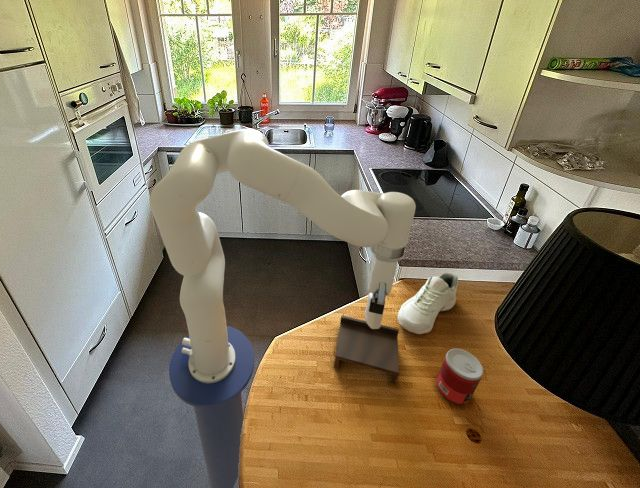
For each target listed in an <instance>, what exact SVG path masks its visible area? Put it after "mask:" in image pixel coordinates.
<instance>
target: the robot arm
mask: <svg viewBox="0 0 640 488" xmlns="http://www.w3.org/2000/svg"><path fill="white" fill-rule="evenodd" d="M228 172H229V174H230V176H231V177H232V178H233V179H234V180H235V181H236V182H238V183H240V184H242V185H243V186H247V187H248V188H251V189H253V190H255V191H258V192H260V193H262V194H265V195H267V196H270V197H272V198H275V199H277V200H279V201H281V202H284V203H286V204H287V205H290V206H292V207H293V208H295V209H296V210H298V212H299V213H301V214H302V215H303V216H304V217H306V218H307V219H309V220H310V221H311V222H312V223H314V224H315V225H316V226H318V227H319V228H320V229H322V231H324V232H326V233H328V234H329V235H330V236H332V237H333V238H336V239H338V240H341V241H343V242H346V243H348V244H351V245H354V246H356V247H360V248H369V250H370V253H371V256H370V257H371V258H370V261H369V266H368V276H367V277H368V278H367V291H368V293H373V298H371V301H370V306H369V312H372V313H376V314H383V315H384V312H383V310H384V311H385V306H386V298H387V297H389V296H390V295H391V291H392V288H393V284H394V281H395V276H396V272H397V267H398V262H399V261H400V260H402V259H403V258H404V256H405V254H406V249H407V245H408V241H409V237H410V233H411V230H412V226H413V221H414V218H415V213H416V209H417V206H416V205H417V204H416V202H415V200H414V199H413V198H412V197H411V196H409V194H406V193H403V192H398V191H388V192H384V193H383V192H375V191H369V190H363V189H351V190H347V191H346V192H343V194H342V195H340V194H339V193H338V192H336V191H335V189H333V188H332V187H331V185H330V184H329V183H328V182H327V181H326V179H324V178H323V176H322V175H321V174H320V173H319V172H317V170H316V169H314V168H313V167H311V166H309V165H307V164H305V163H303V162H302V161H299V160H296V159H294V158H292V157H290V156H289V155H286V154H284V153H282V152H280V151H278V150H276V149H273V148H272V147H270V143H269V140H268V138H267V136H266V135H265V134H264V133H262V132H261V131H259V130H257V129H253V128H242V129H237V130H233V131H230V132H226V133H222V134H219V135H218V134H217V135H214V136H211V137H206V138H203V139H202V138H201V139H198V140H196V141H193V142H190V143H189V144H187V145H186V146H184V147H183V148H182V149H181V150H180V152H179V154H178V155H177V157H176V159H175V161H174V163H173V165H172V166H171V167H170V170H169V171H168V172H167V173H166V174H165V176H163V177H162V179H160V180H159V181H158V182H157V183H156V185H154V187H153V188H152V191H151V192H150V195H149V207H150V211H151V213H152V216H153V219H154V221H155V223H156V225H157V228H158V231H159V234H160V237H161V239H162V243H163V245H164V248H165V250H166V253H167V255H168V259H169V261H170V264H171V266H172V267H173V268H174V270H175V271H176V272H177V273H178V274H180V275H181V276H183V279H182V282H181V286H180V292H179V305H180V306H181V309H182V312H183V314H184V317H185V321H186V326H187V331H188V336H189V337H190V339H188V338H186V337H183V339H182V341H181V342H182V345H184V346H189V347H191V348H192V349H191V350H189V349H187V348H183V349H182V351H181V352H182V353H184V354H188V355H189V356H190V357H189V370H190V373H191V375H192V376H193V377H194V378H195V379H196V380H198V381H199V382H202V383H215V382H218V381H220V380H222V379H224V378H225V377H226V376H227V375H228V374H229V373H230V372H231V371H232V369H233V367H234V364H235V358H236V357H235V351H234V348H233V346H232V345H231V344H230V343H229V342H228V334H227V326H228V324H227V317H226V309H225V305H224V285H225V284H224V282H225V270H226V258H225V257H226V256H225V253H224V250H223V249H224V248H223V246H222V243H221V239H220V236H219V232H218V229H217V226H216V224H215V222H214V221H213V219H212V218H211V217H210V216H209V215H207V214H206V213H203V212H200V211H198V209H197V206H198V205H200V204H201V203H202V202H203V201H204V200H205V199H206V198H207V197H208V196H209V195H210V194H211V191H212V190H213V188H214V184H215V181H216V177H217V175H219V174H222V173H228ZM378 288H379V289H378ZM376 293H378V298H375V296H376Z"/></svg>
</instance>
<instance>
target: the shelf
mask: <svg viewBox="0 0 640 488" xmlns="http://www.w3.org/2000/svg"><path fill="white" fill-rule="evenodd" d="M399 331H400V330H399V328H396V327H392V326H388V325H384V324H381V325H380V328H379V329H371V328H370V327H369V326H368V324H367V322H366V320H363V319H358V318H355V317H351V316H345V315H341V316H340V322H339V329H338V336H337V342H336V350H335V351H336V352H335V356H334V363H333V368H335V369H339V366H340V361H343V362H346V363H349V364H354V365H358V366H361V367H365V368H368V369H371V370H372V369H373V370H375V371H380V372H383V373H387V374H390V384H392V385H397V381H398V378H399V374H400V366H399V362H400V361H399V340H398V337H399Z"/></svg>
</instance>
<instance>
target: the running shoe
mask: <svg viewBox="0 0 640 488" xmlns="http://www.w3.org/2000/svg"><path fill="white" fill-rule="evenodd" d="M458 284H459V277H458V276H457V275H456V274H453V273H451V272H443V273H442V274H441V275H437V276H429V277H428V278H427V280H426V282H425V284H423V285H422V287H421V288H420V289H419V290H418V291H417V293H416V294H414V295H413V296H411V298H408V299H407V300H406V301H404V302H403V304H402V305H401V306H400V309H399V310H398V312H397V322H398V324H399V325H400V327H402V328H403V329H404V330H406V331H407V332H410V333H413V334H416V335H423V334H428V333H430V332H431V331H432V330H433V328H434V324H435V321H436V319H437V318H438V317H437V316H438V315H439V313H440V312H445V311H446V312H447V311H450V310H451V309H452V308H453V307H454V306H455V305H456V302H457V291H458Z"/></svg>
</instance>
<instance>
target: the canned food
mask: <svg viewBox="0 0 640 488" xmlns="http://www.w3.org/2000/svg"><path fill="white" fill-rule="evenodd" d="M483 375H484V368H483V365H482V363H481V362H480V360H479V358H477V357H476V356H475V355H473V354H472V353H471V352H469V351H467V350H464V349H461V348H451V349H449V350H448V351H447V353H446V354H445V357H444V359H443V361H442V364H441V367H440V369H439V372H438V374H437V377H436V387H437V390H438V391H439V392H440V394H441V395H442V396H443V397H444V398H445V399H446V400H448V401H449V402H451V403H453V404H455V405H466V404H468V403H469V402H470V401H471V399H472V397H473V395H474V393H475V392H476V390H477V387H478V386H479V383H480V382H481V380H482V377H483Z"/></svg>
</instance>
